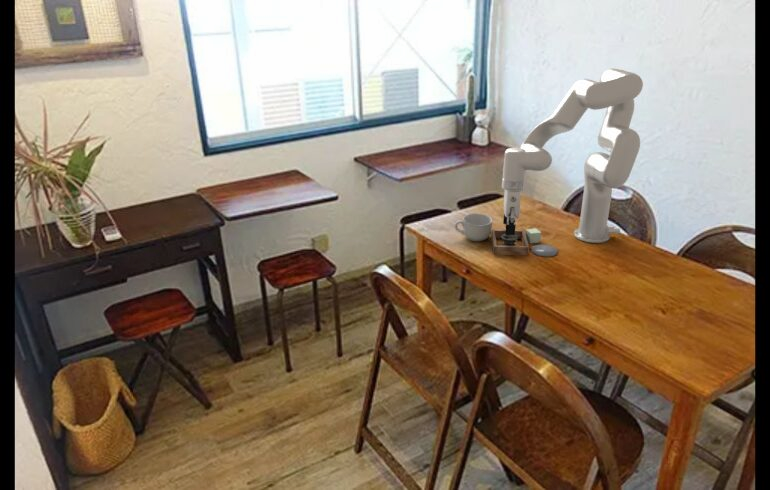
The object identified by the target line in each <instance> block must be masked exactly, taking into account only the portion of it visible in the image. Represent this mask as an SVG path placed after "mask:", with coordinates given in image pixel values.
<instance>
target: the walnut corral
mask: <svg viewBox="0 0 770 490" xmlns="http://www.w3.org/2000/svg"><path fill="white" fill-rule="evenodd" d="M505 231H506V229H491V233H490V236H491V237H490V238H491V244H492V252H493V255H504V256H505V255H507V256H508V255H510V256H511V255H515V256H516V255H517V256H529V251H530V245H529V242H528V241H527V238H526V230H524V229H515V235H517V236H518V239H521V243H522V245H516V246H502V245H497V239H502V235H503V234H505ZM518 239H517V240H518Z"/></svg>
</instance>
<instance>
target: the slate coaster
mask: <svg viewBox="0 0 770 490" xmlns="http://www.w3.org/2000/svg"><path fill="white" fill-rule="evenodd" d="M530 251H531V253H532V254H533V255H536V256H538V257H543V258H544V257H545V258H551V257H554V256H557V255H558V252H559V251H558V249H557V247H555V246H553V245H550V244H543V243H542V244H536V245H535V244H534V245H533V246H532V247H531V249H530Z"/></svg>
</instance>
